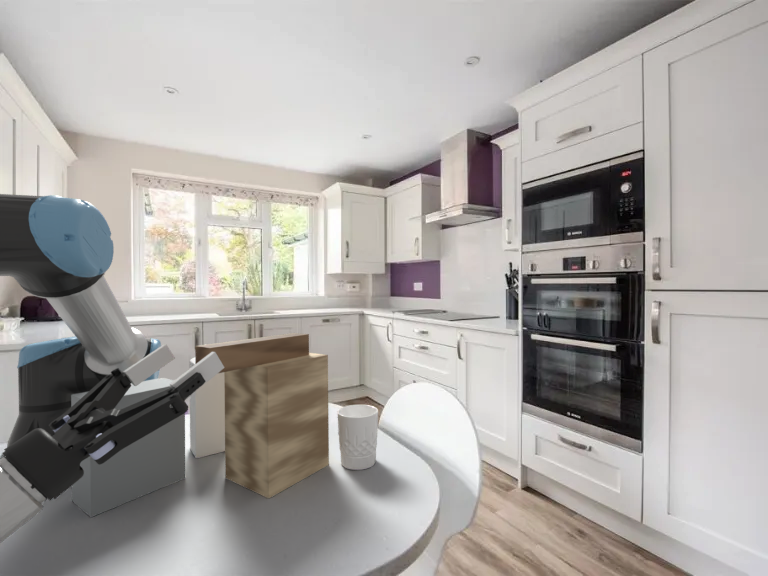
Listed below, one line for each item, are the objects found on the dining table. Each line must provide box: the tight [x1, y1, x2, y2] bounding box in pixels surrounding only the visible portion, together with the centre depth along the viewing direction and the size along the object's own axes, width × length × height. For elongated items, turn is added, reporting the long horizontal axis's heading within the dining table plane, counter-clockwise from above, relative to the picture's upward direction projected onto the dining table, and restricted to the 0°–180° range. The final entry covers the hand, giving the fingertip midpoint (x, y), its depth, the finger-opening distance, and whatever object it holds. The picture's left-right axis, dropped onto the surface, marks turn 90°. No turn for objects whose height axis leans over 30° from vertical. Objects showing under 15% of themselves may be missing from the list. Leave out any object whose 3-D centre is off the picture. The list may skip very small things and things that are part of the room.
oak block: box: [224, 352, 330, 499], centre depth 70 cm, size 12×14×21 cm
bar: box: [194, 332, 310, 374], centre depth 65 cm, size 4×20×4 cm, turn 145°
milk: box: [189, 343, 225, 459], centre depth 79 cm, size 6×6×22 cm
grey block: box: [71, 377, 186, 518], centre depth 64 cm, size 8×14×17 cm, turn 145°
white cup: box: [336, 404, 379, 471], centre depth 73 cm, size 8×8×10 cm
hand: (192, 354), depth 55 cm, fingers open, 13 cm apart
